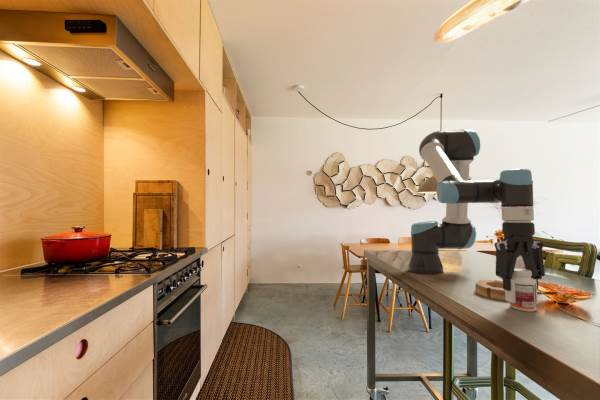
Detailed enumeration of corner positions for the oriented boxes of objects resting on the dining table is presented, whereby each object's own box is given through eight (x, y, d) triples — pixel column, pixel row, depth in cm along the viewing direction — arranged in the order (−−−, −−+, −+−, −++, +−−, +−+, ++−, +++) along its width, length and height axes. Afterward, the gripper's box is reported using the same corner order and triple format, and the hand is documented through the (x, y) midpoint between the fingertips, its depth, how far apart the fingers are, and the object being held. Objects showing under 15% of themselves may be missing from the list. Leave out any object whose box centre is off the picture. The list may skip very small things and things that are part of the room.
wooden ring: (467, 289, 101) (466, 280, 102) (502, 287, 103) (502, 279, 103) (498, 301, 87) (498, 291, 88) (539, 299, 89) (538, 290, 89)
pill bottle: (517, 303, 85) (515, 267, 86) (541, 309, 80) (539, 270, 80) (505, 306, 83) (503, 269, 83) (529, 313, 77) (527, 273, 78)
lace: (522, 293, 95) (522, 292, 95) (554, 292, 97) (554, 290, 97) (524, 294, 95) (524, 292, 95) (557, 292, 96) (556, 291, 96)
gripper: (498, 222, 78) (501, 307, 77) (559, 221, 80) (564, 303, 79) (478, 221, 85) (481, 298, 85) (535, 220, 87) (538, 295, 87)
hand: (521, 301), depth 82 cm, fingers closed on pill bottle, 6 cm apart
